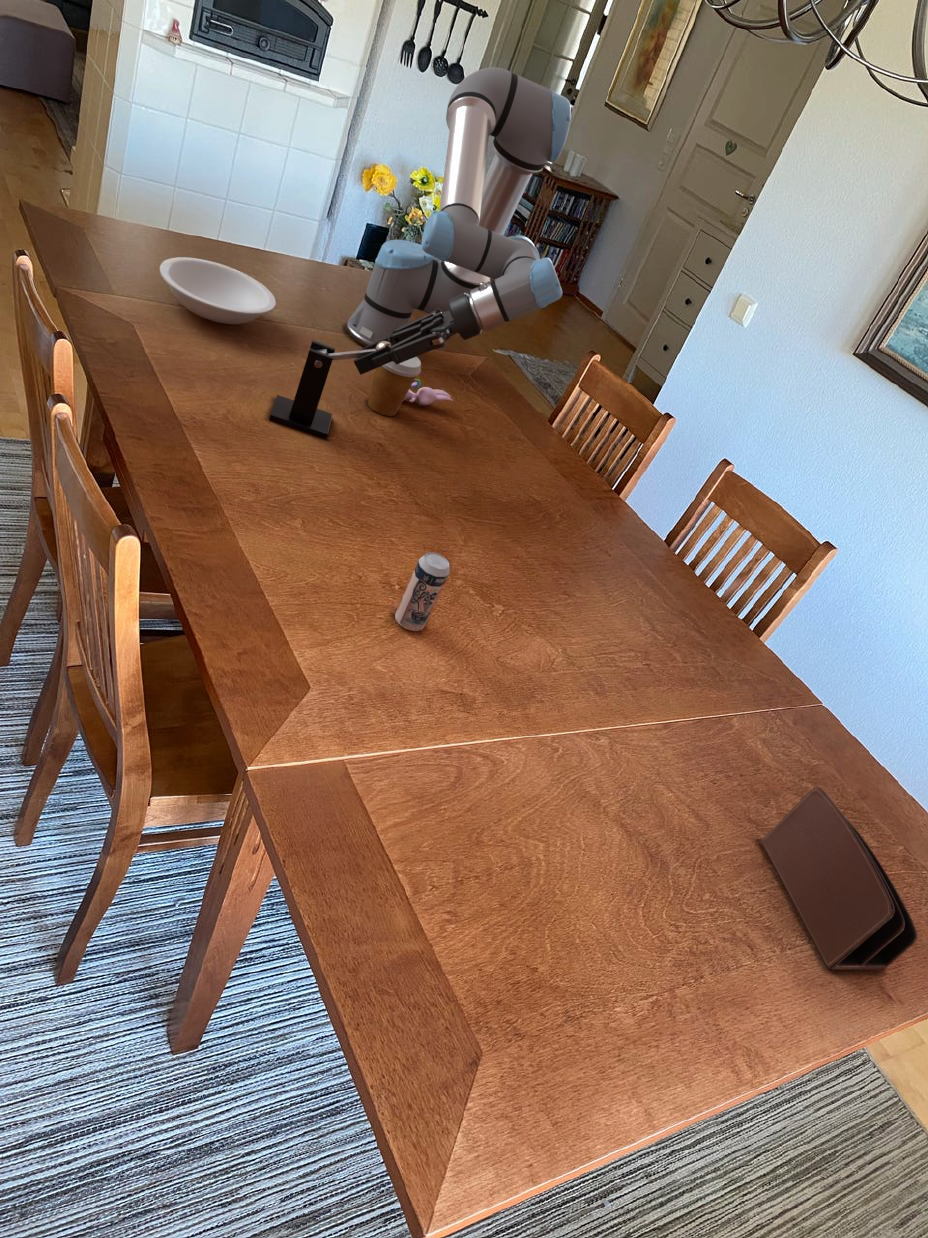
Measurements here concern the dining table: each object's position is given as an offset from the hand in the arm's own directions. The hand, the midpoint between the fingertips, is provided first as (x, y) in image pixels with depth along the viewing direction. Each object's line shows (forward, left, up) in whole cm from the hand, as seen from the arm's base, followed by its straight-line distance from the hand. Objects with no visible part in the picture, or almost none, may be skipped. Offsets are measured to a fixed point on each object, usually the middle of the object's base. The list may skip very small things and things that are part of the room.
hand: (358, 362), depth 170 cm
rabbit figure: (-29, +8, -15) cm, 34 cm away
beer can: (+46, +30, -15) cm, 57 cm away
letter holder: (+63, +98, -15) cm, 118 cm away
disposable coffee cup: (-19, +3, -15) cm, 24 cm away
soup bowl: (-24, -39, -15) cm, 48 cm away
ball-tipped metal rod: (0, 0, 0) cm, 1 cm away
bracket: (+2, -7, -15) cm, 16 cm away
